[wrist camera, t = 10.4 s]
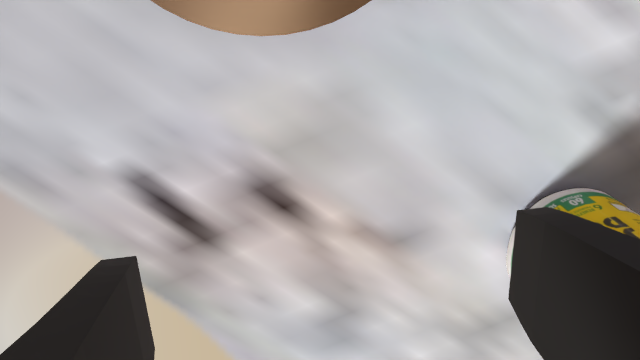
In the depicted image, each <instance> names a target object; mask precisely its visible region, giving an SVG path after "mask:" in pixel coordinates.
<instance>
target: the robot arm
mask: <svg viewBox="0 0 640 360" xmlns="http://www.w3.org/2000/svg"><path fill="white" fill-rule="evenodd" d="M509 301H510V303H511V305H512V307H513V309H514V311H515V313H516V315H517V317H518V319H519V321H520V323H521V324H522V326H523V328H524V330H525V332H526V333H527V335H528V337H529V339H530V341H531V342H532V344H533V345H534V346H535V348H536V349H537V351H538V352H539V354H540V355H541V356H542V358H543V359H544V360H640V239H637V238H634V237H632V236H629V235H626V234H624V233H621V232H619V231H616V230H613V229H611V228H608V227H605V226H603V225H600V224H598V223H595V222H592V221H590V220H587V219H584V218H581V217H579V216H576V215H573V214H570V213H567V212H564V211H561V210H557V209H553V208H549V207H542V208H533V209H525V210H517V216H516V226H515V236H514V247H513V257H512V267H511V278H510V288H509ZM154 351H155V347H154V342H153V337H152V332H151V327H150V322H149V317H148V313H147V308H146V302H145V297H144V292H143V287H142V282H141V278H140V273H139V268H138V263H137V258H136V256H132V257H124V258H115V259H107V260H101V261H100V262H99V263H97V264H96V265H95V266H94V267H93V268H92V269H91V270H90V271H89V272H88V273H87V274H86V275H85V276H84V277H83V278H82V279H81V280H80V281H79V282H78V283H77V284H76V285H75V286H74V287H73V288H72V289H71V290H70V291H69V292H68V293H67V294H66V295H65V296H64V297H63V298H62V299H61V300H60V301H59V302H58V303H57V304H55V305H54V306H53V307H52V308H51V309H50V310H49V311H48V312H47V313H46V314H45V315H44V316H43V317H42V318H41V319H40V320H39V321H38V322H37V323H36V324H35V325H34V326H32V327H31V328H30V329H29V330H28V331H27V332H26V333H24V334H23V335H22V336H21V337H20V338H19V339H18V340H16V341H15V342H14V343H13V344H12V345H11V346H10V347H8V348H7V349H6V350H5V351H4V352H3V353H2V354H1V355H0V360H154Z"/></svg>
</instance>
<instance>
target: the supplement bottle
mask: <svg viewBox="0 0 640 360" xmlns="http://www.w3.org/2000/svg"><path fill="white" fill-rule="evenodd" d="M542 207H549V208H553V209H557V210H561V211H564V212H567V213H570V214H573V215H576V216H579V217H581V218H584V219H587V220H590V221H592V222H595V223H598V224H600V225H603V226H605V227H608V228H611V229H613V230H616V231H619V232H621V233H624V234H626V235H629V236H632V237H634V238H637V239H640V215H639V214H637V213H636V212H634V211H632V210H631V209H629V208H628V207H627V206H625V205H624V204H622V203H621V202H619V201H618V200H616V199H614V198H613V197H611V196H610V195H608V194H606V193H604V192H602V191H598V190H594V189H589V188H574V189H568V190H564V191H560V192H557V193H554V194H552V195H549V196H547V197H545V198H543V199H541V200H540V201H539V202H537V203H536V204H534V205H533V206H532V207H531V208H530V209H533V208H542ZM514 236H515V227H514V229H513V231H512V234H511V237H510V240H509V244H508V249H507V255H506V267H507V272H508V276H509V278H511V267H512V257H513V247H514Z"/></svg>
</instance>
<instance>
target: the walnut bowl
mask: <svg viewBox="0 0 640 360" xmlns="http://www.w3.org/2000/svg"><path fill="white" fill-rule="evenodd" d="M151 1H153V2H154V3H156V4H157V5H159V6H160V7H162V8H163V9H165V10H167V11H169V12H171V13H173V14H175V15H177V16H179V17H181V18H183V19H185V20H187V21H190V22H193V23H196V24H199V25H202V26H205V27H208V28H210V29H214V30H219V31H224V32H229V33H233V34H241V35H254V36H271V35H286V34H292V33H297V32H302V31H307V30H311V29H314V28H317V27H320V26H323V25H326V24H329V23H332V22H334V21H336V20H338V19H340V18H342V17H344V16H346V15H348V14H350V13H352V12H354V11H356V10H357V9H359V8H361V7H362V6H364V5H365V4H367V3H368V2H370V1H371V0H151Z"/></svg>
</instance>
